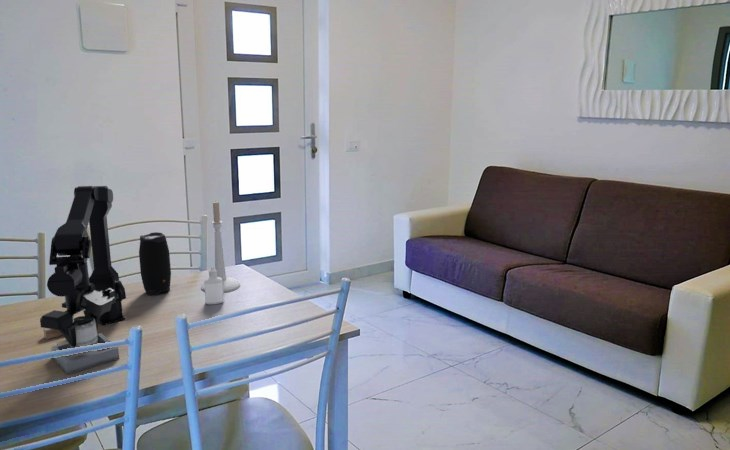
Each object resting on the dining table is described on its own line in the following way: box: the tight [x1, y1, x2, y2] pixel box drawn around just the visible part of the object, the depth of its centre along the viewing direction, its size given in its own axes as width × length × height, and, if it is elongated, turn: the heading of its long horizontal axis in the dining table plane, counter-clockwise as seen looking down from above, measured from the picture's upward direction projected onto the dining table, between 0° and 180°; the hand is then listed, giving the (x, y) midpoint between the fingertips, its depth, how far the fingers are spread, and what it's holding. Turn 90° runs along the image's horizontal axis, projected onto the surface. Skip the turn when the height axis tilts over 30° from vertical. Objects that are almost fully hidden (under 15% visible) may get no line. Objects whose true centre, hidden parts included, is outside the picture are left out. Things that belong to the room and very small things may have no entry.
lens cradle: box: [43, 328, 68, 345], centre depth 150 cm, size 7×14×2 cm, turn 44°
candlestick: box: [201, 200, 241, 294], centre depth 188 cm, size 13×13×30 cm
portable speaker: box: [138, 231, 172, 296], centre depth 185 cm, size 9×9×20 cm
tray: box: [51, 332, 120, 376], centre depth 140 cm, size 12×12×3 cm
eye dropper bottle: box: [203, 265, 225, 305], centre depth 176 cm, size 4×6×12 cm
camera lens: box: [70, 315, 98, 353], centre depth 139 cm, size 6×6×8 cm
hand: (83, 340), depth 139 cm, fingers closed on camera lens, 6 cm apart
